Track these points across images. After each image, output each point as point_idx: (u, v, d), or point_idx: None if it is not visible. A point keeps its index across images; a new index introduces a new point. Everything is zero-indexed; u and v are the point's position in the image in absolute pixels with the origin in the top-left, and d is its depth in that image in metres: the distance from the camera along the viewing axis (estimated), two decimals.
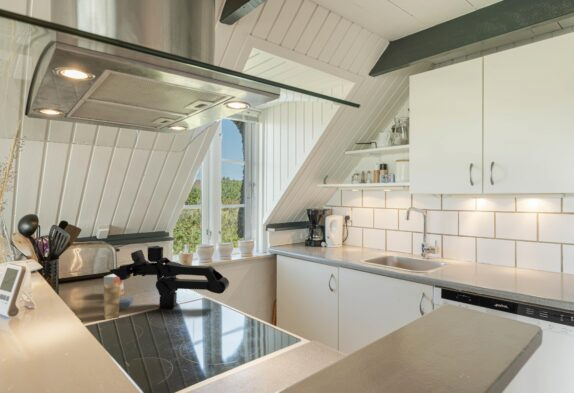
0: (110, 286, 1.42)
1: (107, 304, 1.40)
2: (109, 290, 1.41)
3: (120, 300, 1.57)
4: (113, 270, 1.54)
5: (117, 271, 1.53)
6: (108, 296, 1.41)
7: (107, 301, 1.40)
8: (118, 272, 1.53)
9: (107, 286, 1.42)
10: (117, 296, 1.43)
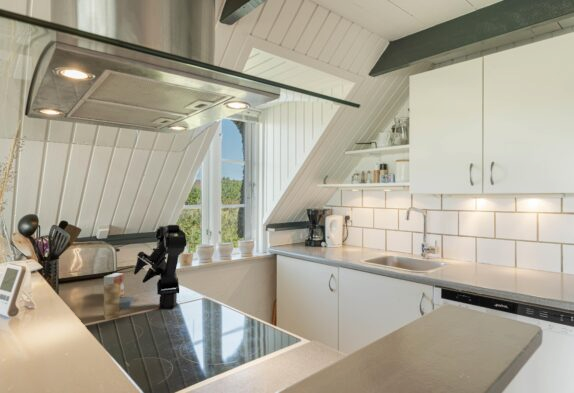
0: (110, 286, 1.42)
1: (107, 304, 1.40)
2: (109, 290, 1.41)
3: (120, 300, 1.57)
4: None
5: None
6: (108, 296, 1.41)
7: (107, 301, 1.40)
8: None
9: (107, 286, 1.42)
10: (117, 296, 1.43)
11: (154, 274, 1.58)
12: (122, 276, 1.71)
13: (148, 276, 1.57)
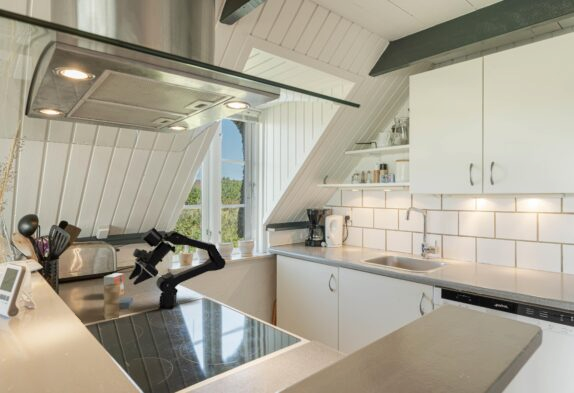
0: (110, 286, 1.42)
1: (107, 304, 1.40)
2: (109, 290, 1.41)
3: (120, 300, 1.57)
4: (137, 280, 1.44)
5: (142, 277, 1.45)
6: (108, 296, 1.41)
7: (107, 301, 1.40)
8: (143, 276, 1.45)
9: (107, 286, 1.42)
10: (117, 296, 1.43)
11: None
12: (122, 276, 1.71)
13: None
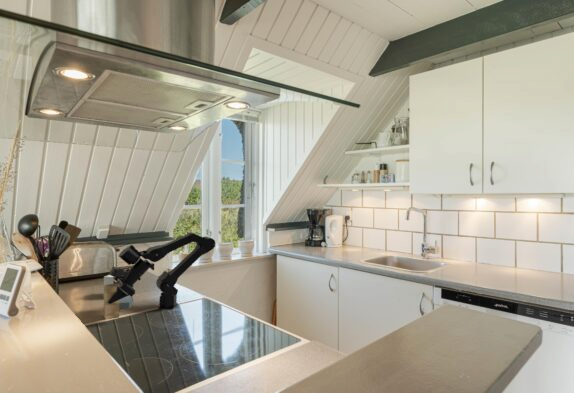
0: (110, 286, 1.42)
1: (107, 304, 1.40)
2: (109, 290, 1.41)
3: (120, 300, 1.57)
4: (112, 299, 1.41)
5: (117, 295, 1.41)
6: (108, 296, 1.40)
7: (107, 301, 1.40)
8: (119, 295, 1.42)
9: (107, 286, 1.42)
10: None
11: None
12: None
13: None
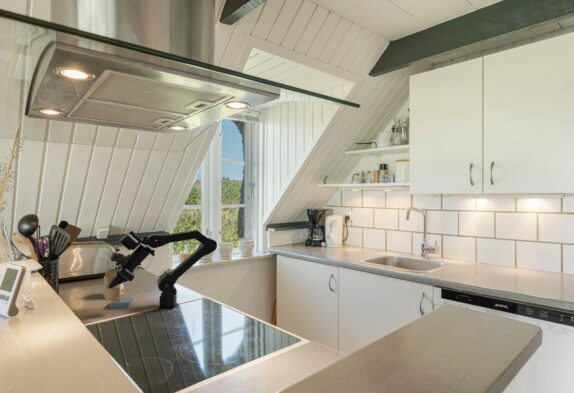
0: (111, 271, 1.44)
1: (107, 289, 1.43)
2: (109, 274, 1.43)
3: (120, 300, 1.57)
4: (112, 283, 1.43)
5: (117, 280, 1.43)
6: (108, 281, 1.43)
7: (107, 286, 1.43)
8: (119, 280, 1.43)
9: (108, 271, 1.44)
10: None
11: None
12: None
13: None
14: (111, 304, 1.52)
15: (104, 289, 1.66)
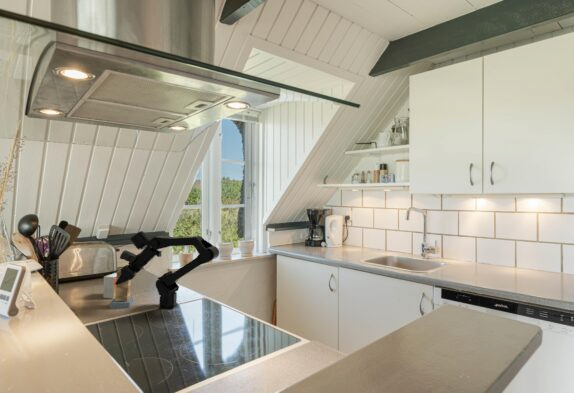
0: None
1: (117, 287, 1.54)
2: (119, 274, 1.55)
3: None
4: (118, 280, 1.51)
5: (122, 278, 1.51)
6: None
7: None
8: (123, 278, 1.51)
9: (120, 271, 1.57)
10: (126, 281, 1.55)
11: None
12: None
13: None
14: (111, 304, 1.52)
15: (104, 289, 1.66)
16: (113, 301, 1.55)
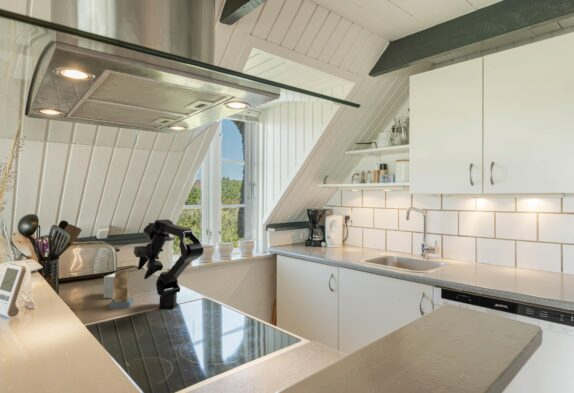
0: (120, 272, 1.55)
1: (116, 288, 1.53)
2: (118, 275, 1.53)
3: None
4: (147, 275, 1.58)
5: (150, 272, 1.58)
6: (117, 281, 1.53)
7: (116, 285, 1.53)
8: (151, 271, 1.58)
9: (117, 272, 1.55)
10: (125, 282, 1.54)
11: None
12: None
13: None
14: (111, 304, 1.52)
15: (104, 289, 1.66)
16: (113, 301, 1.55)
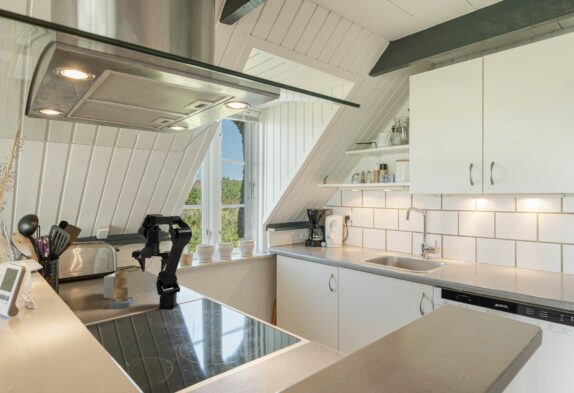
0: (120, 272, 1.55)
1: (116, 288, 1.54)
2: (118, 275, 1.54)
3: None
4: (163, 268, 1.66)
5: (164, 264, 1.66)
6: (117, 281, 1.54)
7: (116, 285, 1.54)
8: (164, 262, 1.67)
9: (117, 272, 1.55)
10: (125, 281, 1.55)
11: None
12: None
13: None
14: (111, 304, 1.52)
15: (104, 289, 1.66)
16: (113, 301, 1.55)
